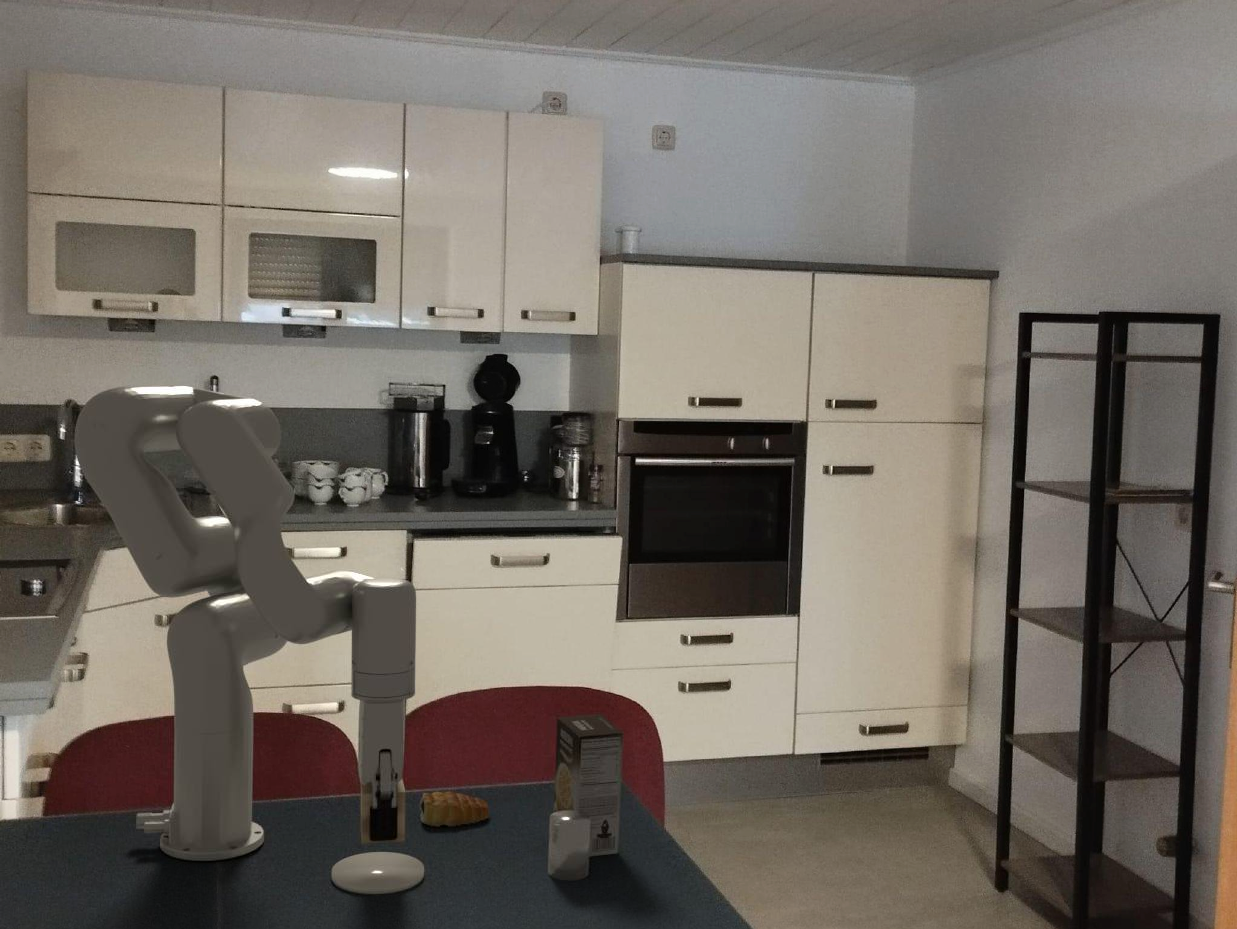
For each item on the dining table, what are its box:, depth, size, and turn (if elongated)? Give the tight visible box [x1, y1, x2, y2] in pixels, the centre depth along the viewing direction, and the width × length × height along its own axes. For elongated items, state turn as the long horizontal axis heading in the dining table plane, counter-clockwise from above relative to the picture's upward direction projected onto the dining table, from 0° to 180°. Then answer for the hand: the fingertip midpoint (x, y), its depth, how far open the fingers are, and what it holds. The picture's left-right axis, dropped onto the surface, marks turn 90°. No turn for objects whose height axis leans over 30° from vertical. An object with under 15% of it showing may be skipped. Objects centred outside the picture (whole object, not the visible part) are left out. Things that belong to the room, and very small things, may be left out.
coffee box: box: [553, 713, 624, 858], centre depth 174 cm, size 9×6×16 cm
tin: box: [547, 810, 591, 882], centre depth 165 cm, size 5×5×7 cm
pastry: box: [419, 790, 490, 828], centre depth 182 cm, size 9×7×4 cm
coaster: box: [331, 851, 425, 895], centre depth 162 cm, size 11×11×1 cm
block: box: [359, 778, 406, 845], centre depth 161 cm, size 5×5×6 cm
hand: (382, 829), depth 161 cm, fingers closed on block, 5 cm apart
